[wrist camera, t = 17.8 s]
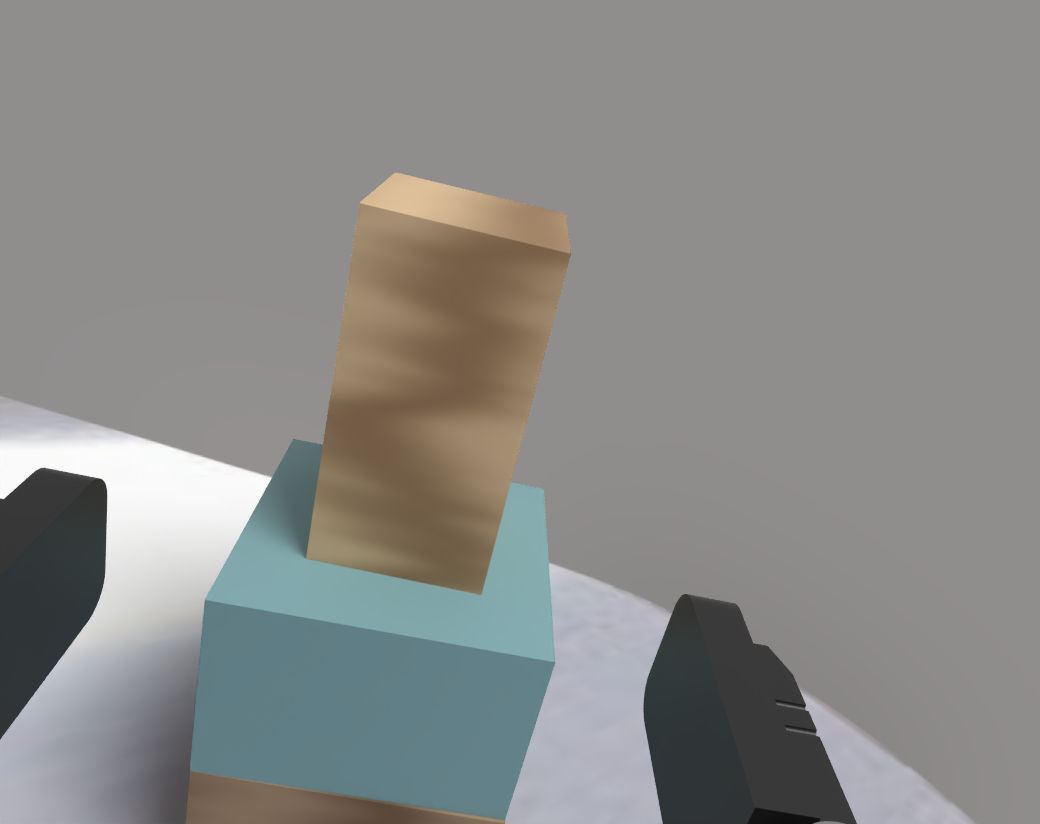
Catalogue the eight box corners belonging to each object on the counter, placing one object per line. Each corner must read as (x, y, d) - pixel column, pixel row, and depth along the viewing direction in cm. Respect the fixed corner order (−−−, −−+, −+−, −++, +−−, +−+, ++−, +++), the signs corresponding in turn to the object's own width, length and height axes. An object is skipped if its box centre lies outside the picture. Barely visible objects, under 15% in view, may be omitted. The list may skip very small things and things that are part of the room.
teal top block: (189, 770, 23) (204, 599, 20) (275, 577, 31) (293, 438, 29) (504, 820, 24) (554, 662, 21) (507, 619, 32) (543, 489, 29)
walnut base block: (177, 909, 25) (190, 771, 23) (262, 696, 33) (278, 578, 31) (463, 952, 26) (505, 823, 24) (478, 734, 34) (509, 621, 32)
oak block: (305, 558, 23) (359, 203, 19) (345, 473, 27) (395, 172, 23) (481, 595, 23) (571, 253, 19) (491, 504, 28) (565, 213, 24)
